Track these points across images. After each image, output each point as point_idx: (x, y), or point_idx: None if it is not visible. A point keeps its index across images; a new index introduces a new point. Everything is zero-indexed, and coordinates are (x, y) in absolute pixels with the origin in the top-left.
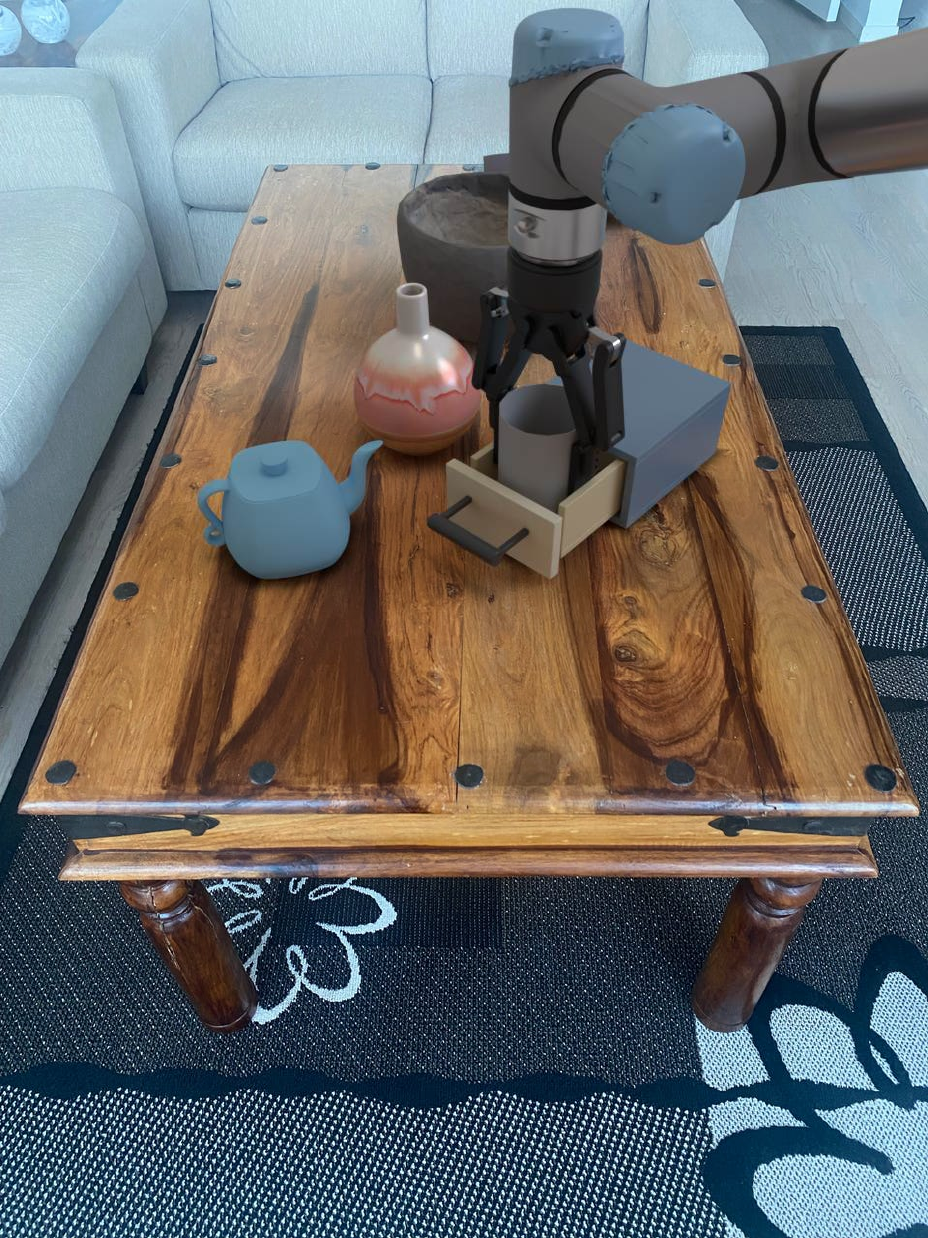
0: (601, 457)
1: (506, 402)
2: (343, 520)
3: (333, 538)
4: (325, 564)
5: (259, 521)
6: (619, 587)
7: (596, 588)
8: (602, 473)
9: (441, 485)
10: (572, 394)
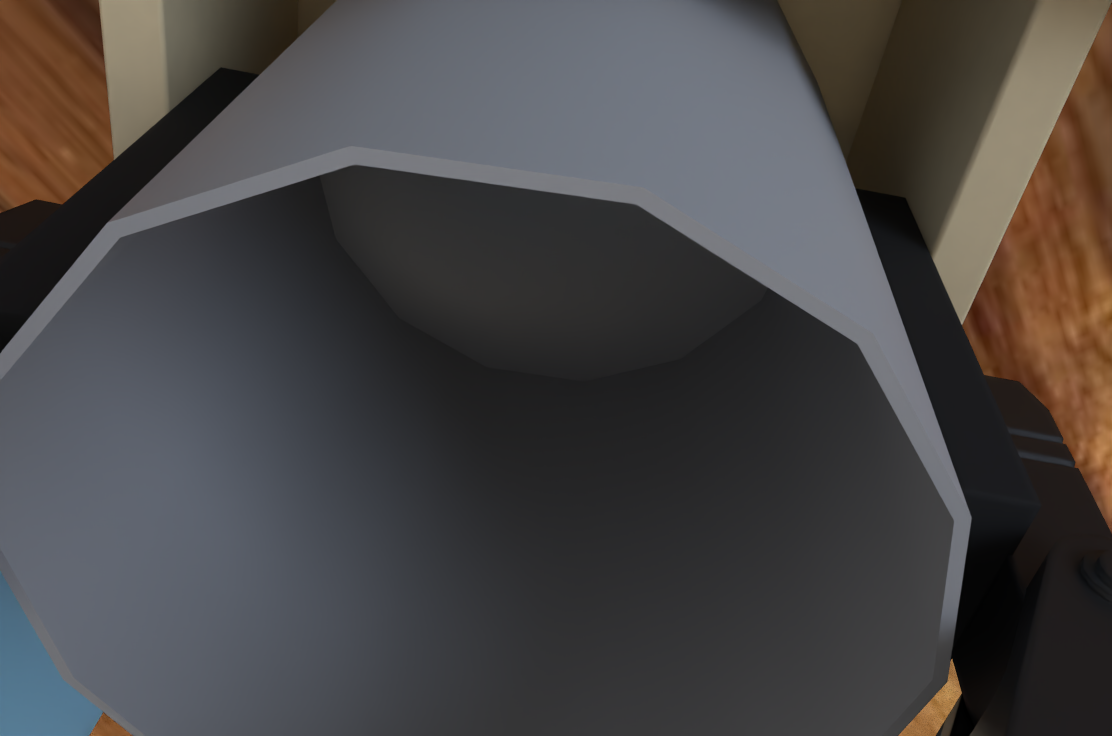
0: (1078, 470)
1: (57, 525)
2: (23, 685)
3: (74, 734)
4: None
5: None
6: (1100, 278)
7: (998, 326)
8: (992, 180)
9: (13, 70)
10: None
